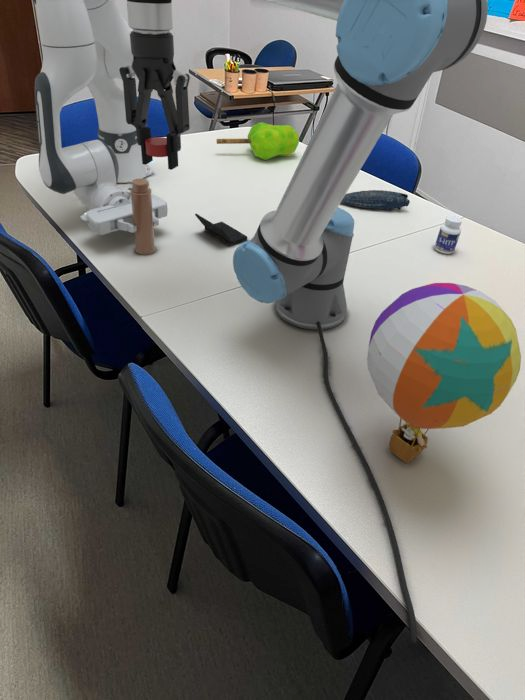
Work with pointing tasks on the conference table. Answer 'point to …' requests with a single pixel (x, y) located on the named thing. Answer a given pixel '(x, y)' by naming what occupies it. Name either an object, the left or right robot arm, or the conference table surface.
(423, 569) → the conference table surface
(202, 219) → the handheld gaming console
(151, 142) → the lid
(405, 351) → the toy
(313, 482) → the conference table surface
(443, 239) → the pill bottle
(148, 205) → the jar
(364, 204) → the fish model
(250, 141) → the decorative tree
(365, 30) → the right robot arm
